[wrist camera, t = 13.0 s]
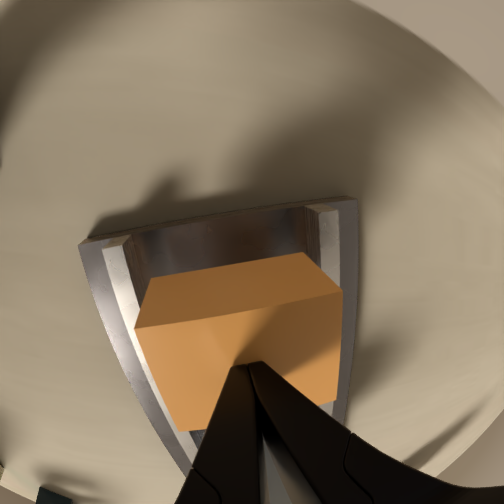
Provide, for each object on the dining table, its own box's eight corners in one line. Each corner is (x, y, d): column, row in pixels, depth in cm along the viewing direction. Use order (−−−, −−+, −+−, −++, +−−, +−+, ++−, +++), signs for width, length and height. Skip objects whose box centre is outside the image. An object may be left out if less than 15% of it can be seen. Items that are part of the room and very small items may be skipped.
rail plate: (85, 238, 11) (63, 257, 9) (347, 195, 13) (376, 205, 11) (199, 488, 19) (201, 510, 17) (330, 461, 21) (339, 481, 18)
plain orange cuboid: (151, 277, 9) (133, 328, 6) (302, 252, 10) (342, 290, 7) (179, 371, 10) (178, 431, 8) (307, 347, 11) (335, 400, 8)
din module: (219, 447, 16) (236, 547, 9) (294, 432, 16) (330, 527, 9) (230, 472, 17) (246, 556, 10) (295, 459, 18) (325, 539, 11)
